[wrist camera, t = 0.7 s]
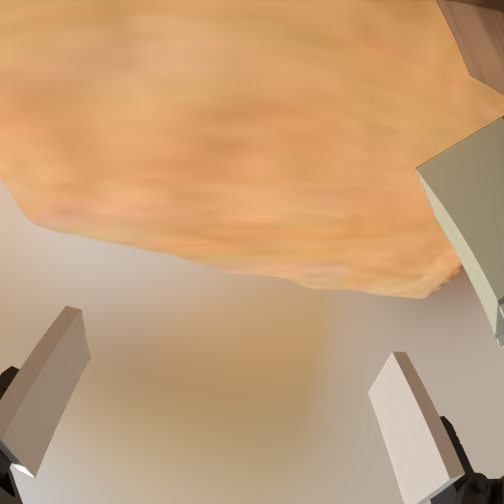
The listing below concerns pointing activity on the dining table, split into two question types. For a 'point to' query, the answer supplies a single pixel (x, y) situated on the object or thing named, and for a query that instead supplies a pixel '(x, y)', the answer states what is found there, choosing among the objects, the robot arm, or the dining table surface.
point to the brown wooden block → (479, 37)
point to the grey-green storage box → (474, 211)
